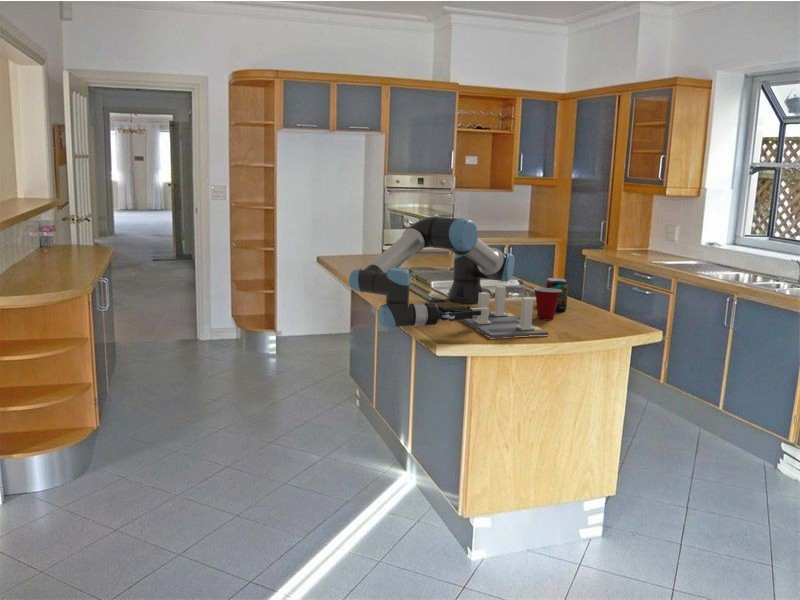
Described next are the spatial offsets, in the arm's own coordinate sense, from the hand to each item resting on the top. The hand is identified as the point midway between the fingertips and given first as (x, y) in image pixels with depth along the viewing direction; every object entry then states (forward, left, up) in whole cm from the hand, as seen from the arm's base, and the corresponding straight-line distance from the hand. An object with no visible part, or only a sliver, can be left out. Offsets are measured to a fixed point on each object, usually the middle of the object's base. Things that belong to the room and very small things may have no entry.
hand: (488, 311), depth 246 cm
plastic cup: (-20, +34, -9) cm, 41 cm away
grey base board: (-11, +10, -9) cm, 18 cm away
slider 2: (-22, +15, -7) cm, 28 cm away
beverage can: (-32, +46, -9) cm, 57 cm away
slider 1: (-11, +3, -7) cm, 14 cm away
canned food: (-43, +51, -9) cm, 68 cm away
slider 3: (0, +15, -7) cm, 17 cm away
